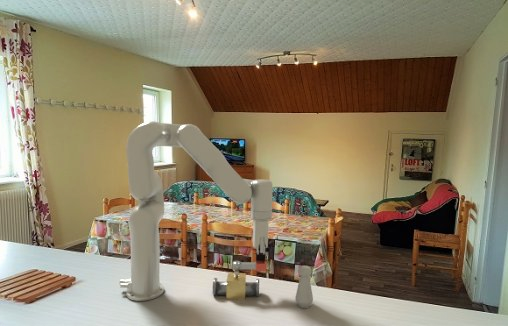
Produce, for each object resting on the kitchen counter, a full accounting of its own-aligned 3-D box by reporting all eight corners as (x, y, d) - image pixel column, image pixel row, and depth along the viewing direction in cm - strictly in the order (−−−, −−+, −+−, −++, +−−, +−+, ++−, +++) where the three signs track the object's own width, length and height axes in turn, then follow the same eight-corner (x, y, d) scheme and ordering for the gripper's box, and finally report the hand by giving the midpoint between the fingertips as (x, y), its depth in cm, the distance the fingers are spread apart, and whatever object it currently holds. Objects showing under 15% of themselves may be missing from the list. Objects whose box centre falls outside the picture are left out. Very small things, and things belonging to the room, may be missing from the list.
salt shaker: (312, 310, 103) (314, 272, 102) (294, 308, 104) (296, 270, 103) (312, 301, 108) (314, 264, 107) (295, 299, 110) (297, 263, 109)
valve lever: (232, 271, 110) (232, 263, 110) (232, 267, 113) (232, 260, 113) (266, 271, 110) (266, 263, 110) (265, 267, 113) (265, 260, 113)
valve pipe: (212, 298, 109) (212, 273, 108) (214, 289, 115) (215, 265, 115) (258, 299, 109) (259, 274, 108) (258, 290, 115) (259, 266, 115)
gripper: (249, 209, 121) (249, 256, 122) (251, 219, 106) (251, 273, 107) (269, 209, 121) (268, 256, 123) (274, 219, 106) (273, 272, 108)
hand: (260, 264), depth 115 cm, fingers closed
